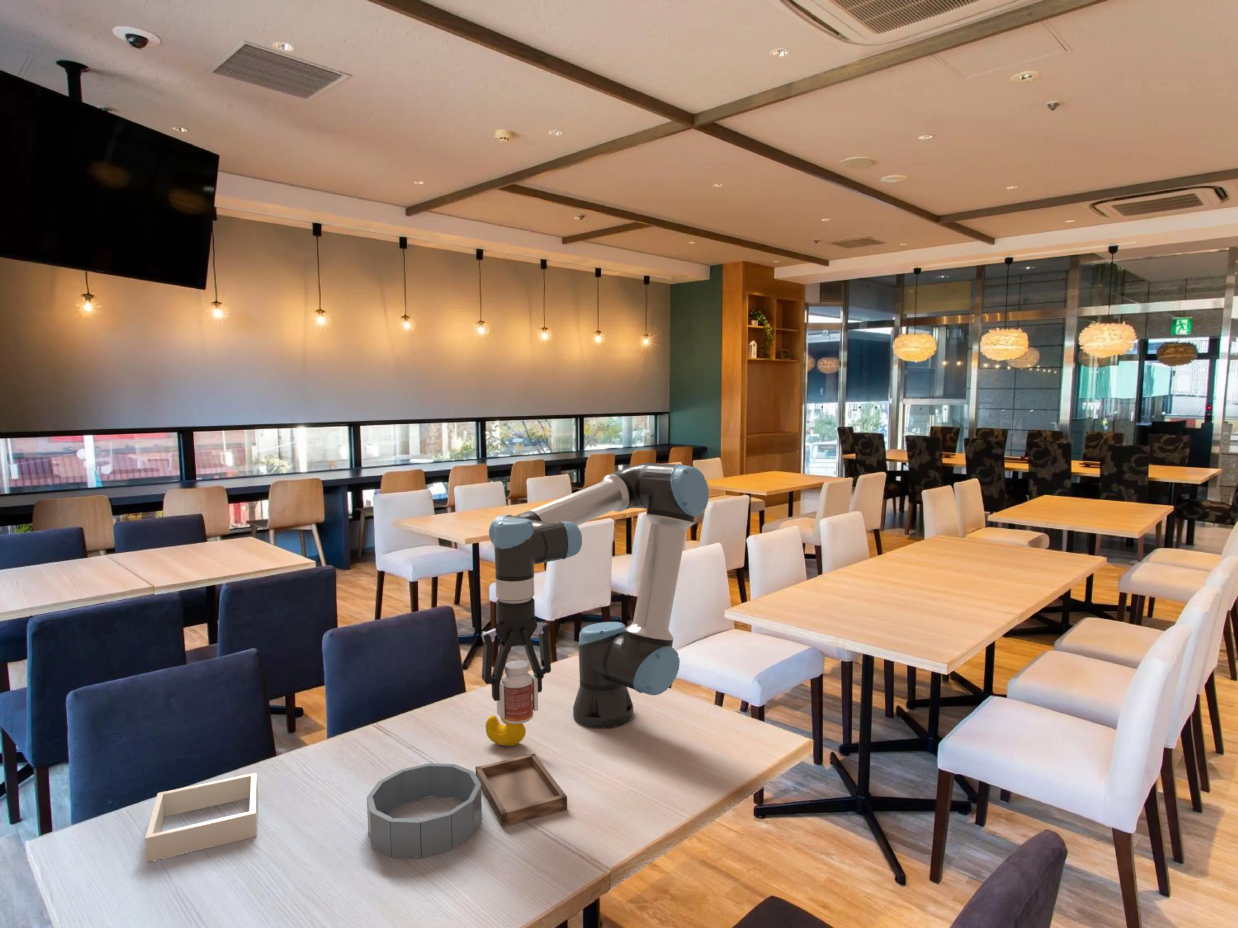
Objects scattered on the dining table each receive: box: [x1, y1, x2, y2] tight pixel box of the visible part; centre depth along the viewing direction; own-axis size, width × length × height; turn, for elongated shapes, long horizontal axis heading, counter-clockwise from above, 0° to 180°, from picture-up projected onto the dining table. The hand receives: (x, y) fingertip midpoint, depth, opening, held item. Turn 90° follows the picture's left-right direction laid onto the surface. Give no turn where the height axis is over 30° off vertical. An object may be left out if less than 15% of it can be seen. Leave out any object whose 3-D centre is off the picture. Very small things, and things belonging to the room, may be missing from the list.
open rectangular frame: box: [144, 772, 259, 863], centre depth 135 cm, size 17×16×4 cm
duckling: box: [485, 714, 527, 747], centre depth 165 cm, size 11×5×10 cm, turn 79°
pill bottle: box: [501, 659, 534, 724], centre depth 143 cm, size 6×6×11 cm
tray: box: [475, 753, 568, 828], centre depth 145 cm, size 13×19×3 cm
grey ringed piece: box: [366, 762, 483, 859], centre depth 135 cm, size 20×20×6 cm
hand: (517, 711), depth 143 cm, fingers closed on pill bottle, 6 cm apart
